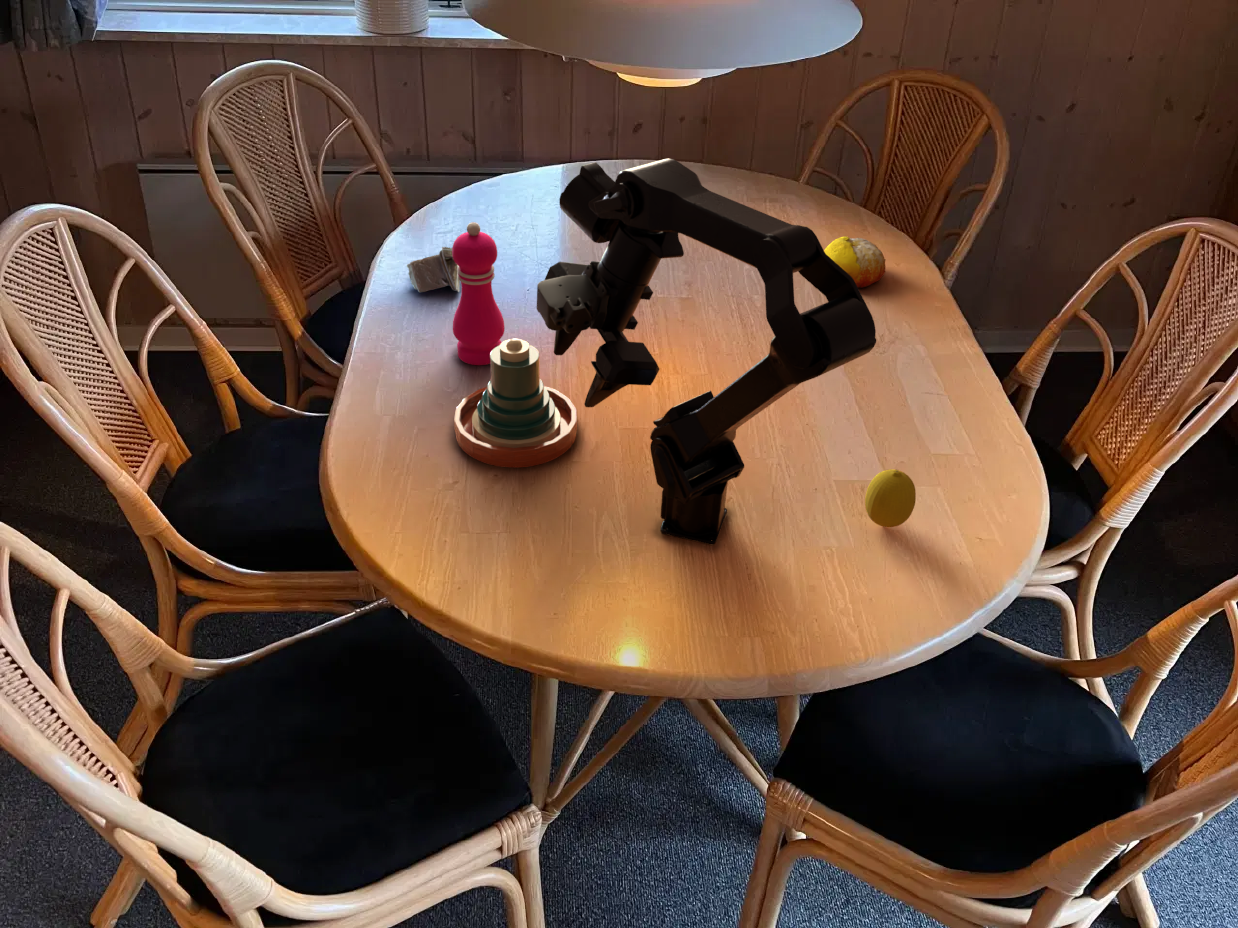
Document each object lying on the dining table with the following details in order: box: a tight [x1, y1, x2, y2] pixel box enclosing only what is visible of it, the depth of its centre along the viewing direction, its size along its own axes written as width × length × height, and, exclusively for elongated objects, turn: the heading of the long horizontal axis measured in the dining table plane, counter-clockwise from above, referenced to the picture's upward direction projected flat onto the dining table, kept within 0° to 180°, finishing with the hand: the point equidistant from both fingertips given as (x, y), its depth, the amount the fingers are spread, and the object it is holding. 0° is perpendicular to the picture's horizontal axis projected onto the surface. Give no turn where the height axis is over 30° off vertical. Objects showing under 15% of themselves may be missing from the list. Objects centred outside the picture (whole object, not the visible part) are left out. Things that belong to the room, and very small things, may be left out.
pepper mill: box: [451, 221, 506, 366], centre depth 144 cm, size 7×7×20 cm
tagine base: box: [453, 385, 578, 468], centre depth 134 cm, size 15×16×3 cm
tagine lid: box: [472, 338, 561, 448], centre depth 130 cm, size 11×11×13 cm
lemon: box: [864, 468, 917, 528], centre depth 120 cm, size 6×6×8 cm
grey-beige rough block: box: [406, 246, 461, 294], centre depth 165 cm, size 10×7×12 cm
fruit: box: [823, 235, 886, 289], centre depth 172 cm, size 11×10×8 cm
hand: (572, 379), depth 122 cm, fingers open, 9 cm apart
